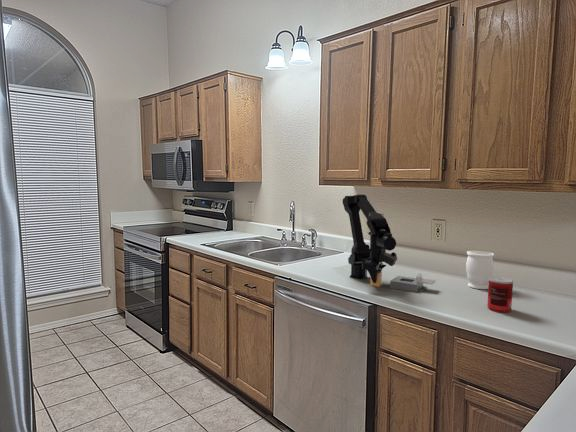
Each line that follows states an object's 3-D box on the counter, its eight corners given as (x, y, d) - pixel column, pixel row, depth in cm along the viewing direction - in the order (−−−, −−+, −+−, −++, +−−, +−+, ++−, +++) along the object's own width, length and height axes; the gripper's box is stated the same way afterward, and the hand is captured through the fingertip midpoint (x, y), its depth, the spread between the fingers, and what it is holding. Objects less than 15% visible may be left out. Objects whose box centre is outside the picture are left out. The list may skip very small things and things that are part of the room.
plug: (370, 285, 174) (370, 268, 174) (372, 284, 177) (373, 267, 176) (379, 287, 172) (379, 269, 172) (381, 285, 175) (381, 268, 174)
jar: (459, 284, 176) (461, 251, 175) (477, 282, 180) (479, 249, 179) (479, 291, 167) (480, 255, 165) (497, 289, 170) (499, 254, 169)
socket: (390, 288, 171) (390, 281, 171) (397, 282, 180) (398, 275, 180) (416, 292, 165) (416, 284, 165) (423, 285, 174) (423, 279, 174)
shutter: (416, 282, 168) (416, 276, 167) (419, 279, 172) (419, 273, 172) (432, 284, 164) (432, 278, 164) (435, 281, 169) (435, 275, 169)
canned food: (503, 305, 149) (505, 276, 147) (516, 313, 141) (518, 282, 139) (482, 305, 148) (484, 276, 147) (494, 313, 140) (496, 282, 139)
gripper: (388, 251, 161) (387, 290, 162) (401, 245, 177) (400, 280, 178) (361, 249, 167) (361, 285, 168) (377, 242, 182) (376, 276, 184)
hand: (375, 282), depth 175 cm, fingers closed on plug, 3 cm apart
